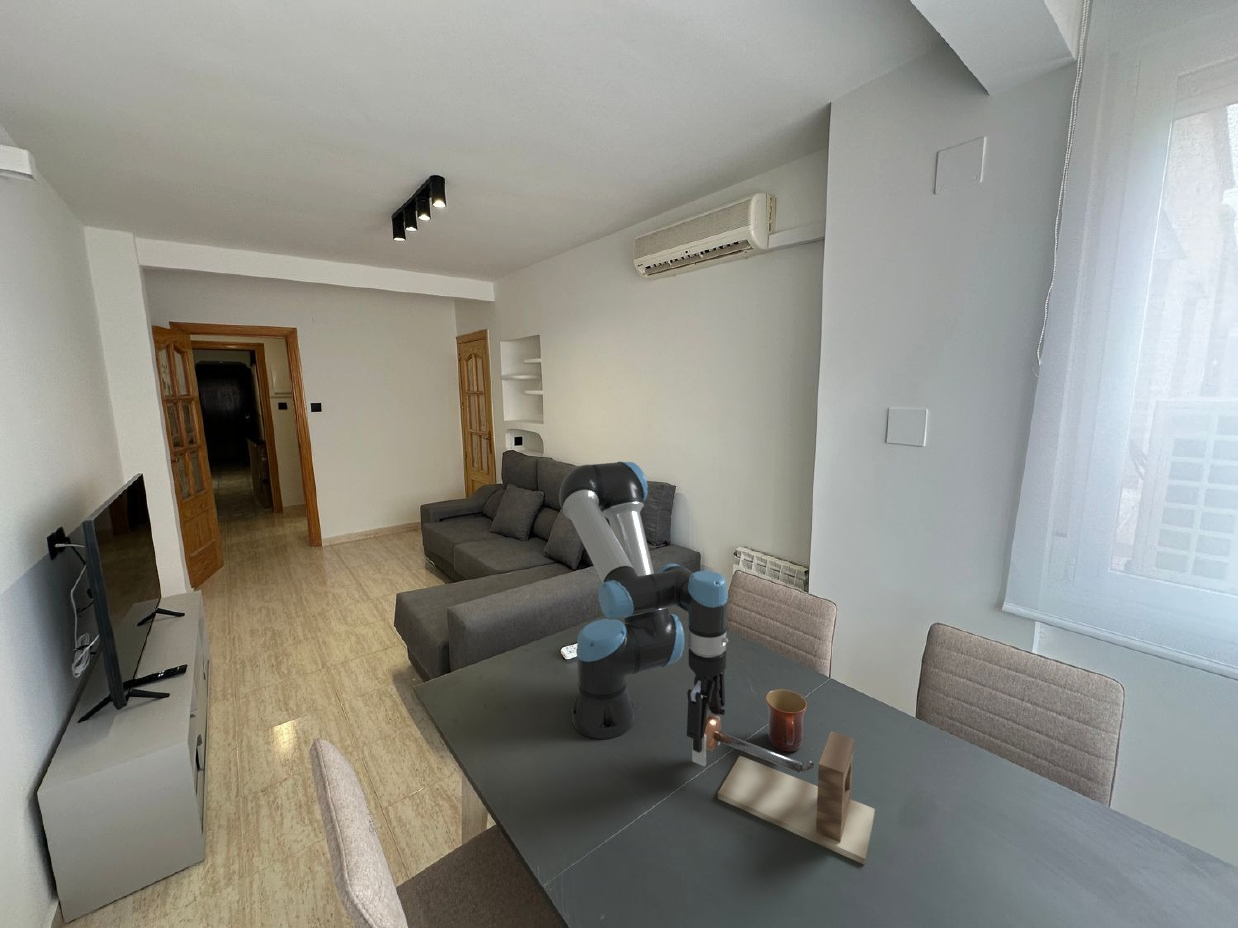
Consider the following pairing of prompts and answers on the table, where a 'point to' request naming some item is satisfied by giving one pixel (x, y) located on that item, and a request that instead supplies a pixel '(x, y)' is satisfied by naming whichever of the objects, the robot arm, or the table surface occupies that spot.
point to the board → (794, 806)
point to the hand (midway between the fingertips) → (706, 751)
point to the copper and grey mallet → (749, 747)
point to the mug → (785, 719)
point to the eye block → (834, 786)
